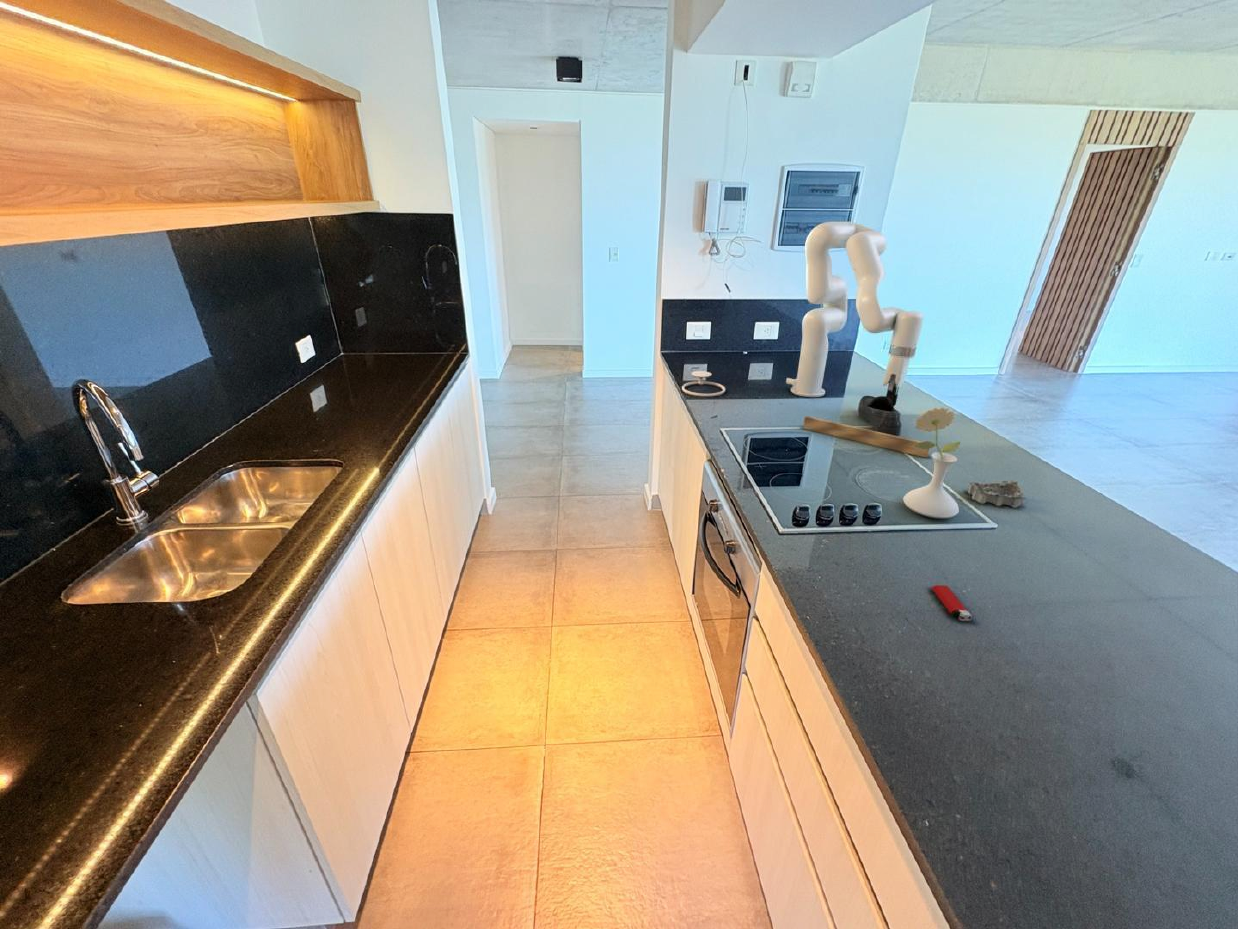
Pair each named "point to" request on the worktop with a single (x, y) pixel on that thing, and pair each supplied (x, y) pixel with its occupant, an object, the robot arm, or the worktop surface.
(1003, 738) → the worktop surface
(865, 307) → the robot arm
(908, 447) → the long wooden plank
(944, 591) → the lighter
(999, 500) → the egg carton
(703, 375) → the hand towel holder
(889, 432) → the loafer
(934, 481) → the flower in vase
